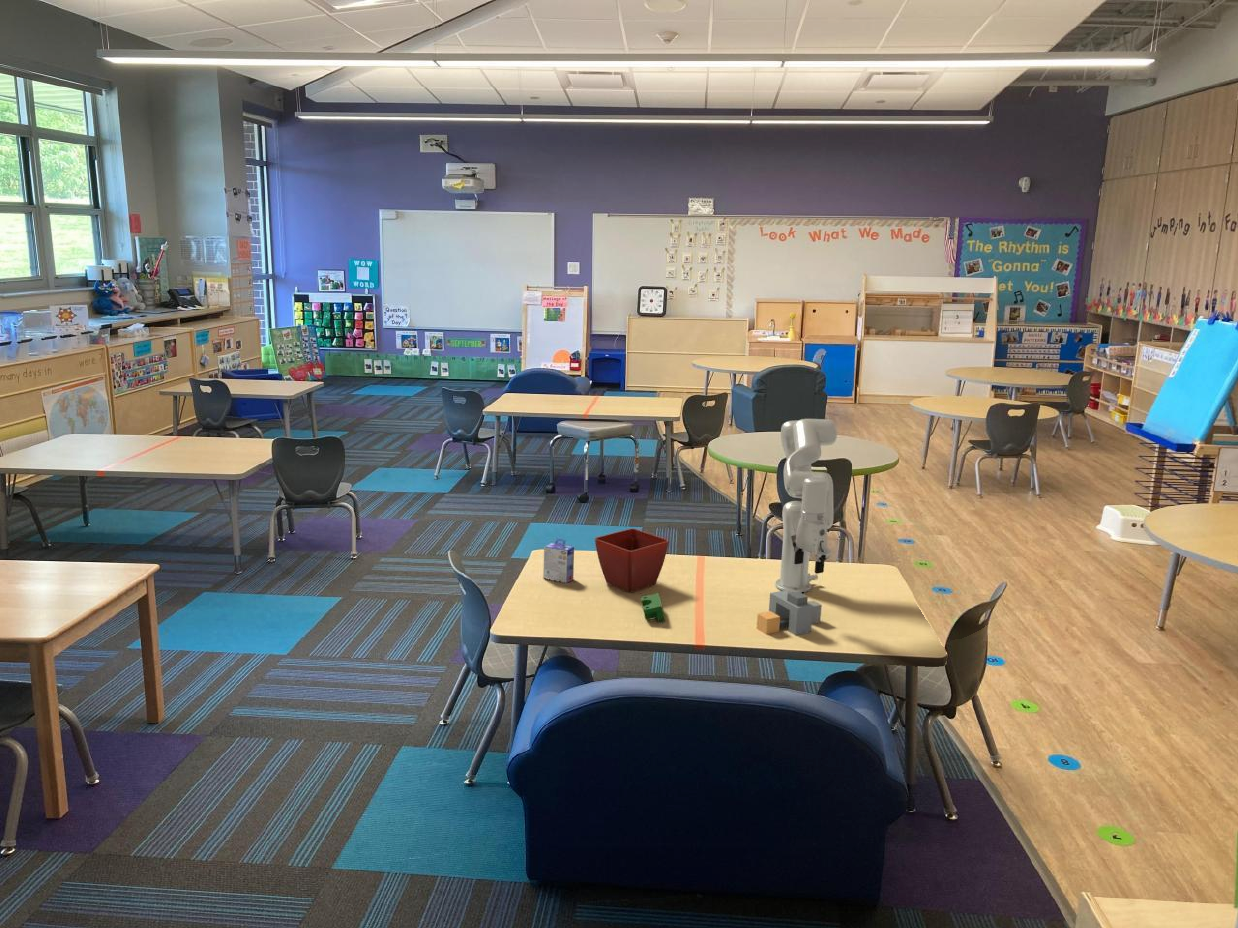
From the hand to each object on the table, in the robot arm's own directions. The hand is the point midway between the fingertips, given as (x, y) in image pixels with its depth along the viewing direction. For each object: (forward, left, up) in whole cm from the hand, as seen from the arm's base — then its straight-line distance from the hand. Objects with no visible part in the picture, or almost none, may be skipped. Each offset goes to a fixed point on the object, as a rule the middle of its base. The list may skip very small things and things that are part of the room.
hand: (808, 568), depth 296 cm
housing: (+6, 0, -19) cm, 19 cm away
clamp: (+42, -25, -19) cm, 52 cm away
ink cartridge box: (+56, -68, -19) cm, 90 cm away
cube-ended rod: (+6, 0, -19) cm, 20 cm away
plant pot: (+35, -53, -19) cm, 66 cm away
